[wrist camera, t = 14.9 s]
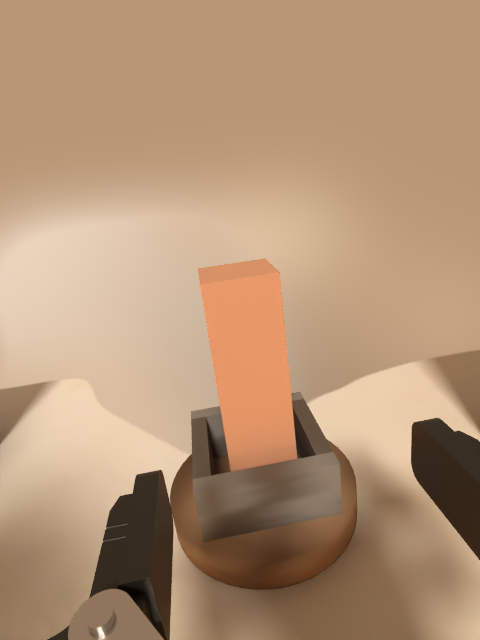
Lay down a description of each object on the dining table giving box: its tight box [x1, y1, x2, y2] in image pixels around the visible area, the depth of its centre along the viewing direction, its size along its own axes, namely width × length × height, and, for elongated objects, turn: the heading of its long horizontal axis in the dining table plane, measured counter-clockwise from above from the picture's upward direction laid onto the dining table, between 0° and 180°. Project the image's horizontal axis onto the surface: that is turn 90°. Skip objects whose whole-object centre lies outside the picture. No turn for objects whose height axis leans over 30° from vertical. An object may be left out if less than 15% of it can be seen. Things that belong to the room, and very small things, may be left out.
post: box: [198, 259, 297, 472], centre depth 24 cm, size 4×4×14 cm
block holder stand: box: [170, 392, 357, 589], centre depth 26 cm, size 12×12×6 cm
